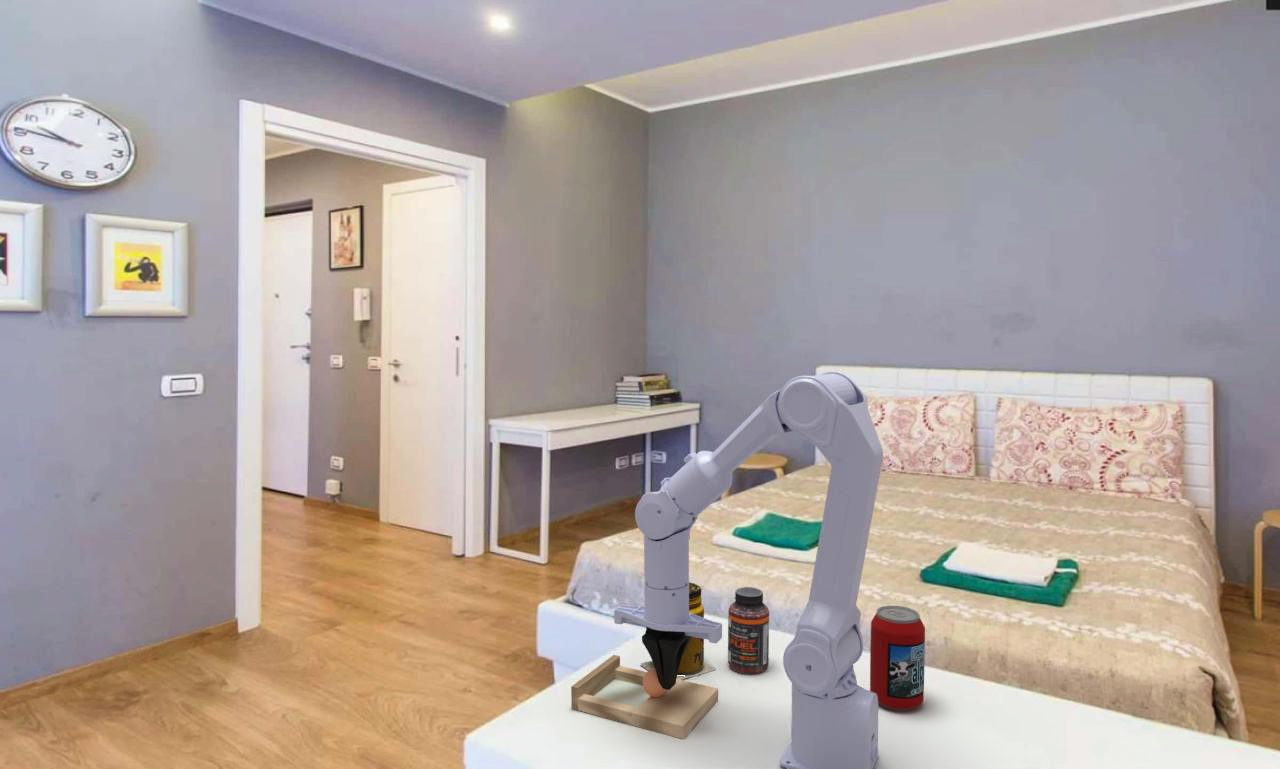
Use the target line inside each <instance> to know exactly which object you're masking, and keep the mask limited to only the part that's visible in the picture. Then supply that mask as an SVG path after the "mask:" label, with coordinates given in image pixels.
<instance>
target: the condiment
mask: <svg viewBox="0 0 1280 769" xmlns="http://www.w3.org/2000/svg"><path fill="white" fill-rule="evenodd" d="M702 601H703V600H702V587H701V586H700V585H699V584H697V583H695V582H690V581H689V613H692V614H694V615H697V616H700V617H702V618H705V607H704V605H703V602H702ZM704 646H705V639H702V638H697V637H691V639H690V641H689V643H688V645H687V647H686V649H685V652H684V654H683V657H682V659H681V662H680V666H679V669H678V674H677V675H685V677H684V676H677V679H680V680H685V679H688V678H693V677H697V676H699V675H703V674H706V673H708V672H712V671H714V670H716V669H717V668H716V667H714V666H712V665H710V664H708V663H706V662H704V661H705V658H704V657H705V647H704ZM640 666H642V667H643V668H644V669H646V671H649V670H651V669H654V668H655V667H654V664H653V661H652V660H650V661H645V662H642V663H640Z"/></svg>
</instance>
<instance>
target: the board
mask: <svg viewBox="0 0 1280 769" xmlns="http://www.w3.org/2000/svg"><path fill="white" fill-rule="evenodd" d="M647 672H648V671H644V670H639V669H636V668H632V667H628V666H627V667H626V666H622V665H621V656H620V655H617V654H613V655H612V656H610V657H609V658H608V659H606V660H605V661H604V662H602V663H601V664H599V665H598V666H597V667H595V668H594V669H592V670H591V671H590V672H589V673H588V674H586V675H585V676H583V677H582V678H581V679H579V680H578V681H577V682H575V683H574V684H573V685H572V686H571V691H570V693H571V699H570V700H571V710H574V711H578V712H581V711H582V713H585V712H586V714H589V713H590V714H589V715H592V714H593V716H596V717H600V718H604V719H607V720H611V719H612V720H611V721H614V722H615V721H616V722H618V721H619V722H618V723H622V722H623V723H622V724H626V725H631V726H632V727H633V726H634V727H638V728H640V729H641V728H642V729H644V730H648V731H652V732H656V733H659V734H663V735H667V736H671V737H675V738H678V739H682V740H684V739H685V738H686V737H687V736H688V734H689V733H690V732H692V730H693V729H694V728H695V727H696V726H697V724H698V723H699V722H700V721H701V720H702V719H703V717H704V716H705V715H706V714H707V713H708V712H709V711H710V710H711V709H712V708H713V706H714V705H715V704H716V703H717V702H718V701H719V688H717V687H713V686H710V685H704V684H701V683H696V682H692V681H687V680H685V679H682V680H680V679H676V684H675V685H674V686H673V687H672V688H671V689H670V690H667V692H666V693H665V694H664V695H662V696H660V697H652V696H650V695H648V694H647V693H646V692H645V690H644V688H643V677H644V675H645V674H646V673H647Z"/></svg>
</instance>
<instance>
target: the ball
mask: <svg viewBox="0 0 1280 769" xmlns="http://www.w3.org/2000/svg"><path fill="white" fill-rule="evenodd" d="M646 672H647V673H646V674H645V675H644V677H643V688H644V690H645V692H646V693H647V694H648V695H650V696H652V697H660V696H662V695H664V694H665V693H666V692H667V689H663V688H662V686H661V685H660V683H659V681H658V677H657V673H656V670H655V668H654V669H651V670H647V671H646Z"/></svg>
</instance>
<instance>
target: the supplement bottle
mask: <svg viewBox="0 0 1280 769" xmlns="http://www.w3.org/2000/svg"><path fill="white" fill-rule="evenodd" d="M734 595H735V597H734V599H735V601H734V602H732V603H731V604H730V605H729V608H728V614H727V615H728V616H727V619H728V621H727V624H728V625H727V665H728V666H729V667H730V668H731V669H732V670H733V671H735V672H738V673H740V674H747V675H756V674H759V673H762V672H765V671H766V670H767V669H768V667H769V658H770V657H769V652H770V649H769V648H770V646H769V643H770V640H769V639H770V611H769V610H770V609H769V607H768V606H767V605H766V604H765V603H764V602H763V601H764V592H763V591H762V589H760V588H757V587H753V586H744V587H739V588H736V589H735V594H734Z"/></svg>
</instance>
